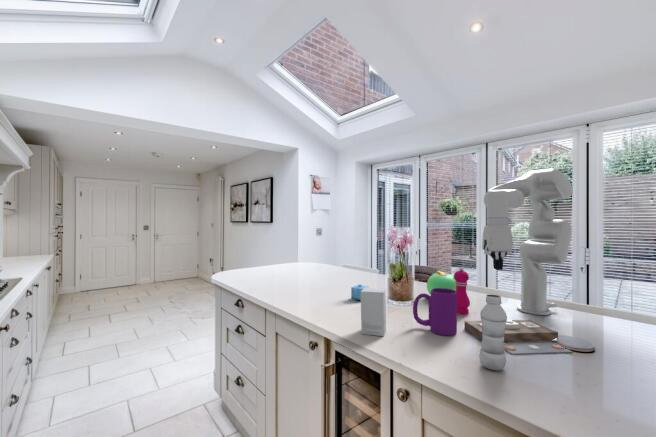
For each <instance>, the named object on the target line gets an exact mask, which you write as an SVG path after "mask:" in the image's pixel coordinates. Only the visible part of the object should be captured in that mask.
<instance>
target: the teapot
mask: <svg viewBox="0 0 656 437" xmlns="http://www.w3.org/2000/svg"><path fill="white" fill-rule="evenodd" d="M364 288H370V287H369V286H368V285H367V286H366V285H362V284H356V285H355V286H351V290H350V292H351V295H350V298H351V299H353V301H358V300H359V301H360V302H361V291H362V290H363V289H364Z"/></svg>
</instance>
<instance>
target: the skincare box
mask: <svg viewBox="0 0 656 437" xmlns="http://www.w3.org/2000/svg"><path fill="white" fill-rule="evenodd" d="M386 292H387V291H386V288H383V287H382V288H379V287H378V288H377V287H369V288H364V289H363V290H362V291H361V301H360V320H361V322H360V323H361V324H360V326H361V327H360V328H361V329H360V330H361V334H362V335H368V336H379V337H384V336H385V334H386V331H387V301H386V300H387V299H386V298H387V296H386V295H387V294H386Z"/></svg>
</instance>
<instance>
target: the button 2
mask: <svg viewBox="0 0 656 437" xmlns="http://www.w3.org/2000/svg"><path fill="white" fill-rule="evenodd" d="M520 325H522V326H524V327H526V328H529V329H530V328H540V326H538V325H536V324H534V323H531V322H529V323H520Z"/></svg>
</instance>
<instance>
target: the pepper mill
mask: <svg viewBox="0 0 656 437" xmlns="http://www.w3.org/2000/svg"><path fill="white" fill-rule="evenodd" d="M453 275H454V279H455V280H456V281H455V285H456V292H457V315H461V316H463V315H466V316H467V315H468V314H469V311H470V310H469V307H470V305H471V301H470V298H469V296H468V294H467V286H468V280H469V279H470V276H469V275H470V274H469V273H468V272H467V271H465V270H464V267H463V266H460V267H459V268H458V270H456V271H455V272H454V274H453Z"/></svg>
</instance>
